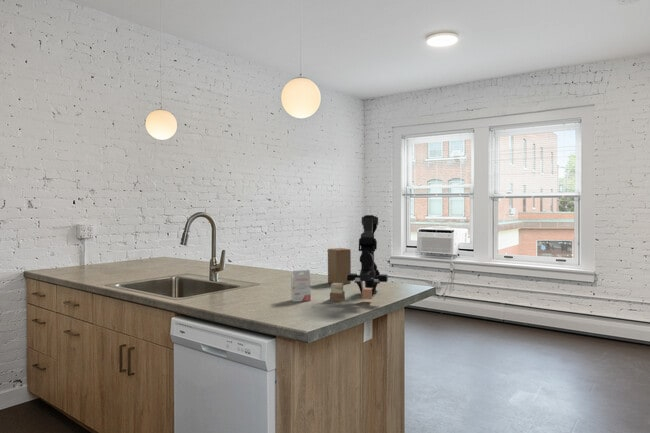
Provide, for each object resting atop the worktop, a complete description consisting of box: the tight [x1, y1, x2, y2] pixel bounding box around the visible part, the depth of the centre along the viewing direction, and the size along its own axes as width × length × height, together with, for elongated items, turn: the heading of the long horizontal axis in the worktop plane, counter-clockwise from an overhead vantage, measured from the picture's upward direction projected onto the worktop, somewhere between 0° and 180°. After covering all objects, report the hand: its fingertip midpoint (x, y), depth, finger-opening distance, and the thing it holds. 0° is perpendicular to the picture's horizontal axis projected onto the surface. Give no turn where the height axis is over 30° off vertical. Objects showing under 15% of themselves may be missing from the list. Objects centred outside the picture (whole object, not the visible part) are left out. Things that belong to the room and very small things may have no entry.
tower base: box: [329, 290, 346, 303], centre depth 223 cm, size 6×6×4 cm
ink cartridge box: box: [290, 269, 312, 302], centre depth 223 cm, size 9×5×15 cm, turn 105°
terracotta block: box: [361, 287, 374, 300], centre depth 217 cm, size 4×4×4 cm
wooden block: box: [327, 247, 352, 285], centre depth 271 cm, size 10×10×20 cm
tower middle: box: [330, 283, 344, 293], centre depth 223 cm, size 5×5×4 cm
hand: (367, 295), depth 217 cm, fingers closed on terracotta block, 4 cm apart
